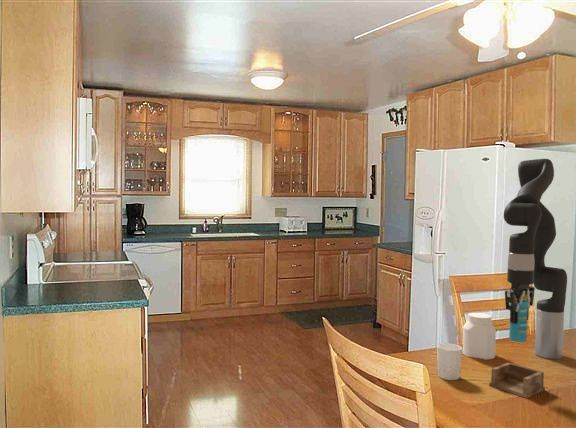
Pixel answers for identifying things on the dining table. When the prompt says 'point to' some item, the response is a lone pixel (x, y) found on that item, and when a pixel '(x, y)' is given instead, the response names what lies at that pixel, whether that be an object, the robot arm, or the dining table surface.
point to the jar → (479, 336)
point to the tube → (520, 323)
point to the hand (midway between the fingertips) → (519, 321)
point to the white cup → (449, 361)
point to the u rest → (517, 380)
